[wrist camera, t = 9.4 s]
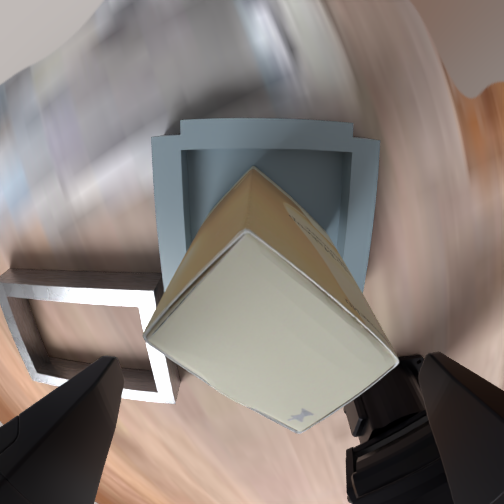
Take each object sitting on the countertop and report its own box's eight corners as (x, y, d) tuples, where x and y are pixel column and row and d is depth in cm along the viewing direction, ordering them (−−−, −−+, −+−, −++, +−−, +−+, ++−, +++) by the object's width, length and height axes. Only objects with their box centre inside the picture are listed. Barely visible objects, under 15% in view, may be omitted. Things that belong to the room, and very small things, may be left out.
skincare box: (328, 231, 20) (412, 366, 8) (279, 278, 21) (305, 441, 9) (249, 159, 18) (246, 221, 7) (200, 214, 19) (135, 343, 8)
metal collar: (163, 273, 21) (153, 290, 19) (180, 382, 25) (175, 403, 23) (9, 268, 21) (-8, 281, 19) (43, 364, 25) (32, 380, 23)
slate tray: (365, 125, 18) (380, 126, 15) (347, 302, 22) (357, 321, 20) (163, 122, 18) (150, 122, 15) (176, 302, 22) (168, 322, 20)
